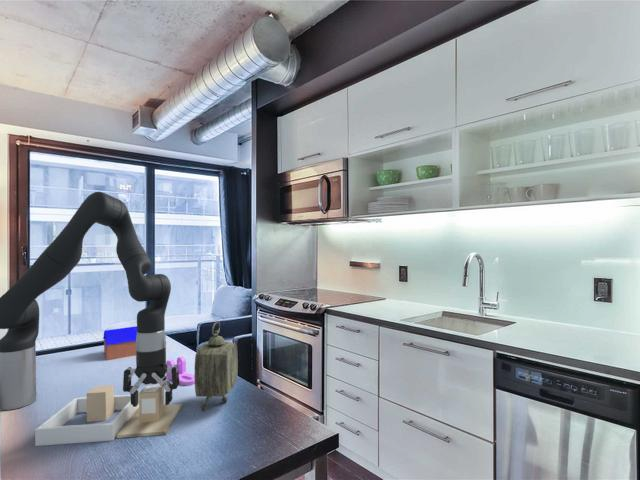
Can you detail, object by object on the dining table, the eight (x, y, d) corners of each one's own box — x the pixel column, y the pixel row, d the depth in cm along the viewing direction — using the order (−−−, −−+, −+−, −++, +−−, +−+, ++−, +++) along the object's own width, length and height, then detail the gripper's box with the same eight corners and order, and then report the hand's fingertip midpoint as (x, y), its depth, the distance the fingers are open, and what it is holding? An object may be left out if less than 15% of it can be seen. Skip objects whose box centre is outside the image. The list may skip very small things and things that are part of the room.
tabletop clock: (211, 392, 119) (210, 316, 119) (238, 392, 119) (237, 316, 119) (194, 413, 105) (193, 327, 105) (226, 413, 104) (224, 327, 104)
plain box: (86, 421, 101) (86, 393, 101) (95, 413, 106) (95, 385, 106) (106, 420, 101) (105, 392, 101) (114, 412, 106) (113, 384, 106)
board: (116, 438, 92) (116, 434, 92) (140, 408, 108) (140, 406, 108) (165, 434, 94) (165, 431, 94) (182, 406, 110) (182, 403, 110)
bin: (35, 445, 89) (35, 429, 89) (75, 411, 107) (75, 397, 107) (112, 440, 91) (112, 424, 91) (139, 407, 109) (139, 394, 109)
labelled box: (138, 423, 98) (138, 393, 98) (145, 414, 103) (145, 385, 103) (158, 422, 99) (157, 391, 98) (164, 412, 104) (163, 384, 104)
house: (103, 354, 161) (102, 327, 161) (151, 345, 173) (151, 321, 173) (106, 361, 152) (105, 333, 152) (157, 352, 164) (157, 326, 163)
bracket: (166, 378, 132) (166, 359, 132) (180, 374, 136) (179, 355, 136) (187, 387, 124) (187, 366, 124) (201, 382, 128) (201, 362, 128)
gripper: (118, 351, 96) (119, 412, 96) (174, 349, 98) (174, 409, 98) (129, 343, 104) (130, 400, 104) (181, 341, 105) (182, 397, 105)
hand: (151, 404), depth 101 cm, fingers open, 8 cm apart
